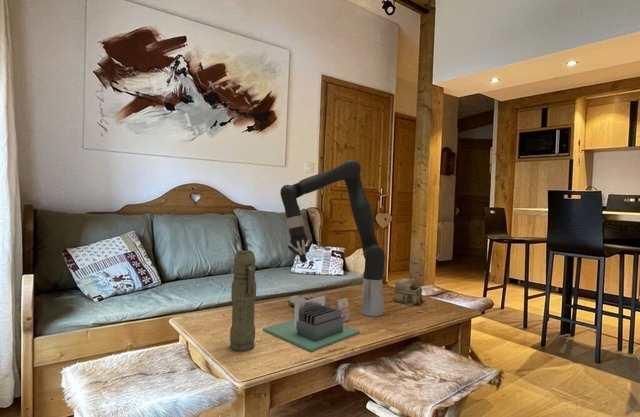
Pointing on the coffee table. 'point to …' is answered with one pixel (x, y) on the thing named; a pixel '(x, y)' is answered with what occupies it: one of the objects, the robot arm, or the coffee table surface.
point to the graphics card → (305, 299)
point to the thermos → (243, 302)
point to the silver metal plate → (312, 305)
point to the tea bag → (343, 308)
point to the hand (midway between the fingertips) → (303, 262)
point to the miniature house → (407, 292)
